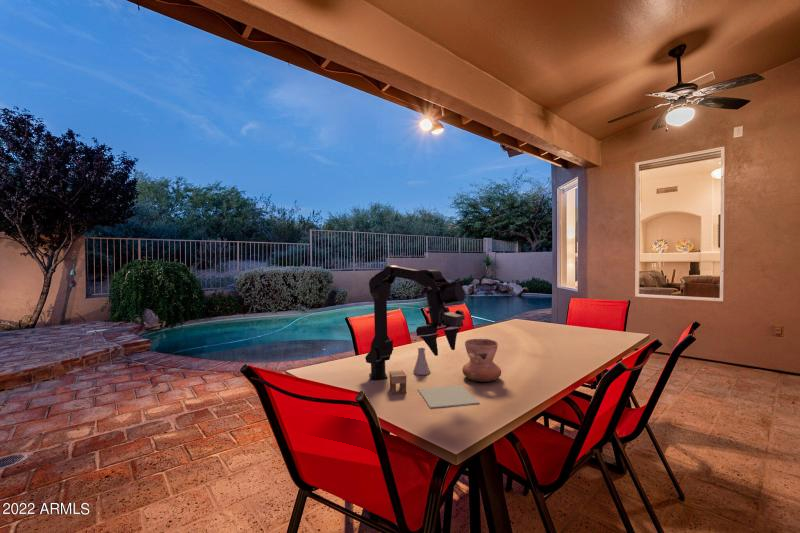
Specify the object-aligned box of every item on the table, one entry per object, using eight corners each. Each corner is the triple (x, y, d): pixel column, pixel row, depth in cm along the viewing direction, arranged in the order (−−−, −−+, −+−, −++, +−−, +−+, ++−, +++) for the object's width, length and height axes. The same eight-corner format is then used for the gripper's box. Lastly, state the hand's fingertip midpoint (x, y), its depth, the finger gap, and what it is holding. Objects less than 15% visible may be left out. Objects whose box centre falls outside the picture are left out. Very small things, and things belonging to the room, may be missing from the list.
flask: (429, 376, 133) (429, 351, 133) (411, 375, 135) (411, 350, 135) (431, 370, 140) (431, 346, 140) (414, 369, 142) (414, 346, 142)
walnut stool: (389, 387, 121) (389, 371, 121) (403, 386, 122) (403, 370, 122) (392, 394, 115) (392, 376, 115) (406, 392, 116) (406, 375, 116)
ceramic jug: (488, 389, 118) (488, 349, 118) (453, 380, 128) (453, 343, 128) (510, 376, 131) (509, 340, 131) (476, 369, 141) (476, 335, 141)
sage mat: (417, 389, 119) (417, 388, 119) (461, 386, 122) (460, 384, 122) (430, 408, 103) (430, 407, 103) (479, 403, 106) (479, 402, 106)
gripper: (437, 305, 102) (447, 358, 99) (471, 300, 115) (480, 346, 113) (411, 310, 109) (419, 359, 107) (446, 304, 123) (454, 347, 120)
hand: (445, 352), depth 112 cm, fingers open, 9 cm apart
